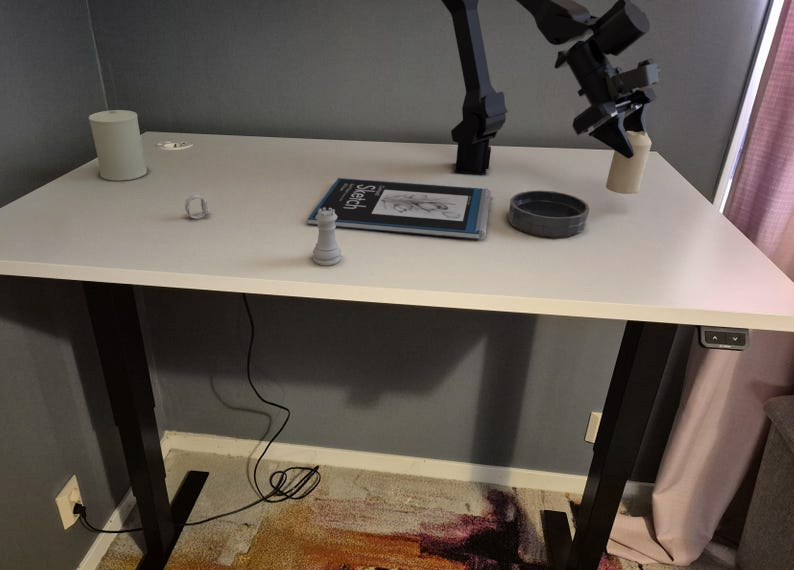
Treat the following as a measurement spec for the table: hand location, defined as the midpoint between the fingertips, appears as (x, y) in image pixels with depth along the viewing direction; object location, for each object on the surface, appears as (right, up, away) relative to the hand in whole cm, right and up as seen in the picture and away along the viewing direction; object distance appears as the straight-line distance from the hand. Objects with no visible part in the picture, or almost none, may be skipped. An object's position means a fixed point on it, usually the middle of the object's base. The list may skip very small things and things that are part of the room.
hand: (639, 153), depth 108 cm
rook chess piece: (-53, -20, -10) cm, 57 cm away
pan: (-15, -11, +2) cm, 19 cm away
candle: (-1, -5, +5) cm, 7 cm away
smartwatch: (-76, -10, +4) cm, 77 cm away
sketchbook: (-40, -8, +7) cm, 41 cm away
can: (-96, +3, +23) cm, 99 cm away
